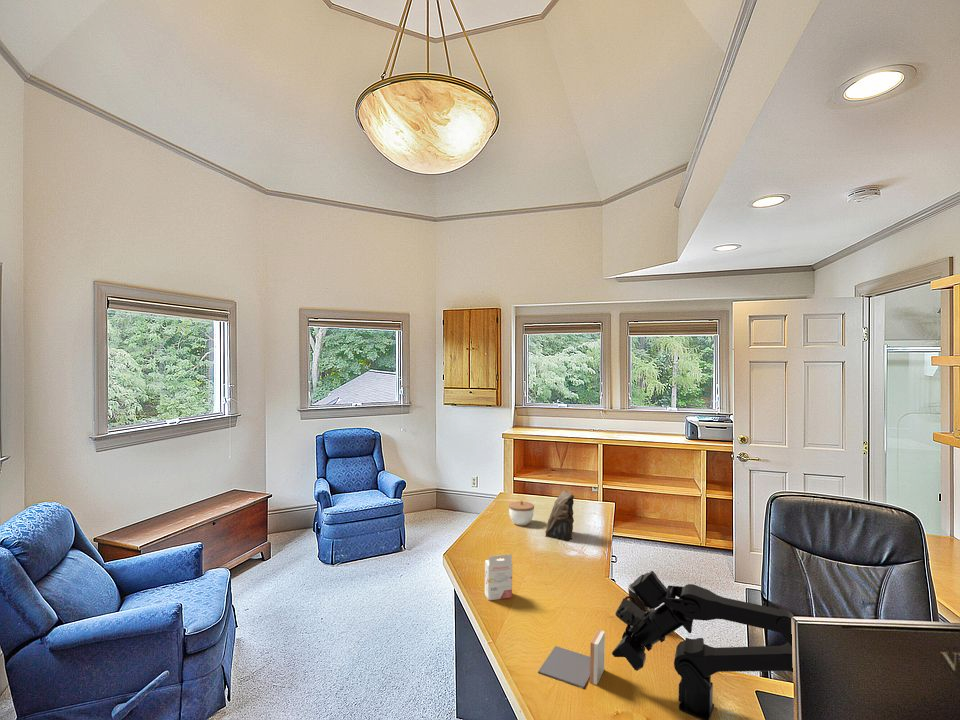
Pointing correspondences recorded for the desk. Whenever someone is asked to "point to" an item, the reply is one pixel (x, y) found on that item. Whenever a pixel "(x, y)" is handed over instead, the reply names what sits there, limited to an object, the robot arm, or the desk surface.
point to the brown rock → (561, 518)
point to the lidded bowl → (521, 512)
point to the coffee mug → (636, 600)
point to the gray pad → (567, 666)
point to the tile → (597, 656)
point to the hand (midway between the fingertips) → (613, 654)
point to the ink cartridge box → (498, 577)
